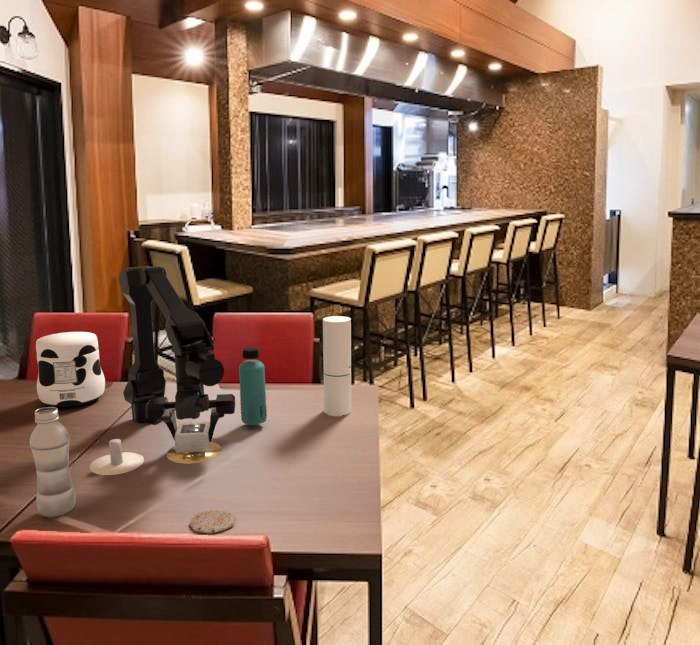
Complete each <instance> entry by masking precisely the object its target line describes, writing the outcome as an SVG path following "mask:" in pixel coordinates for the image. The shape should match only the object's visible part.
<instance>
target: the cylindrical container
mask: <svg viewBox="0 0 700 645" xmlns="http://www.w3.org/2000/svg"><path fill="white" fill-rule="evenodd" d="M351 320H352V318H351V317H349V316H345V315H344V316H341V315H332V316H326V317H323V318H322V348H323V349H322V353H323V357H322V358H323V361H322V363H323V412H325V413H326V414H325V413H324V414H325V415H327V414H328V415H327V416H330V415H331V416H330V417H343V416H342V415H345V416H347V415H346V414H348V413H350V412H351V413H352V322H351ZM351 413H350V414H351ZM348 415H349V414H348Z"/></svg>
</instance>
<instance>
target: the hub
mask: <svg viewBox="0 0 700 645" xmlns="http://www.w3.org/2000/svg"><path fill="white" fill-rule="evenodd" d="M199 432H200V429H199V428H197V427H192V428H188V429H187V433H199ZM222 451H223V448H222V446H221V445H220V444H218V443H217V442H214V441H211V442H210V447H209V451H200V452H183V453H176V449H175V445H174V446H173V447H171V448H170V449H168V451H166V458H167V459H168V460H169V461H172V462H173V463H178V464H187V465H188V464H189V465H190V464H199V463H204V462H207V461H210V460H212V459H215V458H217V457H218V456H219V455H221V453H222Z"/></svg>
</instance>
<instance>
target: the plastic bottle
mask: <svg viewBox="0 0 700 645" xmlns="http://www.w3.org/2000/svg"><path fill="white" fill-rule="evenodd" d="M59 420H60V416H59V410H58V408H57V407H55V406H48V407H45V406H44V407H41V408H37V409H36V410H34V422H35V423H36V424H37V425H36V426H35V427H34V429H33V430H32V432H31V435H30V438H29V446H30V450H31V453H32V456H33V460H34V465H35V470H36V488H37V489H36V496H35V498H36V499H35V504H36V508H37V511H38V512H39V513H40V514H41V515H42V516H43V517H45V518H57V517H61V516H64V515H65V514H68V513H69V512H71V511H72V510H73V509H74V507H75V506H76V502H77V500H76V499H77V495H76V491H75V488H74V486H73V481H72V476H71V471H70V464H69V463H70V455H69V454H70V441H71V440H70V434H69V433H70V432H69V431H68V429H67V428H66V427H65V426H64V425H63V424H62V423H61V422H60V421H59Z"/></svg>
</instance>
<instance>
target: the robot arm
mask: <svg viewBox="0 0 700 645" xmlns="http://www.w3.org/2000/svg"><path fill="white" fill-rule="evenodd" d="M118 282H119V285H120V288H121V293H122V295H123V296H124V297H125V299H126V300H127V301H128V302H129V306H130V317H131V318H130V320H131V330H132V331H131V333H132V345H133V356H134V361H133V363H132V365H131V367H130V369H129V371H128V381H127V383H126V385H125V388H124V390H123V391H122V393H123V397H124V401H125V402H127V403H128V404H130V405H131V406H130V407H131V416H132V421H133V422H134V423H136V424H140V425H141V424H148V425H153V426H155V425H156V424H158V423H160V422H163V423H164V424H165V425H166V426H167V428H168V430H169V432H170V434H171V436H172V438H173V440H174V442H175V433H176V430H177V427H178V424H177V420H179V421H180V420H181V421H183V420H187V419H190V420H197V419H199V418H200V416H201V413H204V412H205V411H206V412H207V411H209V409H210V410H211V411H210V416H209V422H210V430H209V440H210V442H213V441H212V439H213V435H214V433H215V429H216V425H217V423H218V422H219V420H220V419H222V418H224V417H225V415H232V414H235V413H236V412H235V411H236V396H235V395H234V394H233V393H225V394H224V393H222V394H217V395H216V399H210V398H209V394H208V393H205V388H204V387H214V386H216V385H218V384H219V383H220V382H221V381H222V380H223V378H224V375H225V367H224V366H223V363H222V362H221V361H220V360H219V359H217V358H215V353H214V352H212V351H214V350H215V346H214V339H213V338H212V335H211V334H210V332H209V330H208V328H207V325H206V323H205V322H204V320H203V319H202V317H201V316H199V314H198V312H196V311H195V310H192V309H191V308H189V307H187V306H186V305H185V303H184V302H183V301H182V299H181V297H180V295H178V293H177V291H176V290H175V288H174V286H173V285H172V282H171V281H170V280H169V278H168V276H167V272H166V268H164V267H163V266H159V265H158V266H151V265H143V266H142V265H141V266H133V267H124V268H123V269H122V272H121V271H120V273H119V274H118ZM153 300H154V302H155V303H156V305H157V306H158V309H159V310H160V311H161V313H162V315H163V317H164V318H165V321H166V324H165V334H166V337H167V340H168V341H169V343H170V345H171V347H172V348H171V352H173V353H174V367H175V383H176V393H175V396H174V401H169V399H168V397H167V396H165V394H166V382H167V380H166V378H165V371H164V369H163V368H161V367H160V365H159V364H158V363H157V361H156V357H155V356H156V355H155V354H156V353H155V341H154V340H155V339H154V328H153V327H154V326H153V312H152V311H153V310H152V303H153Z"/></svg>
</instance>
